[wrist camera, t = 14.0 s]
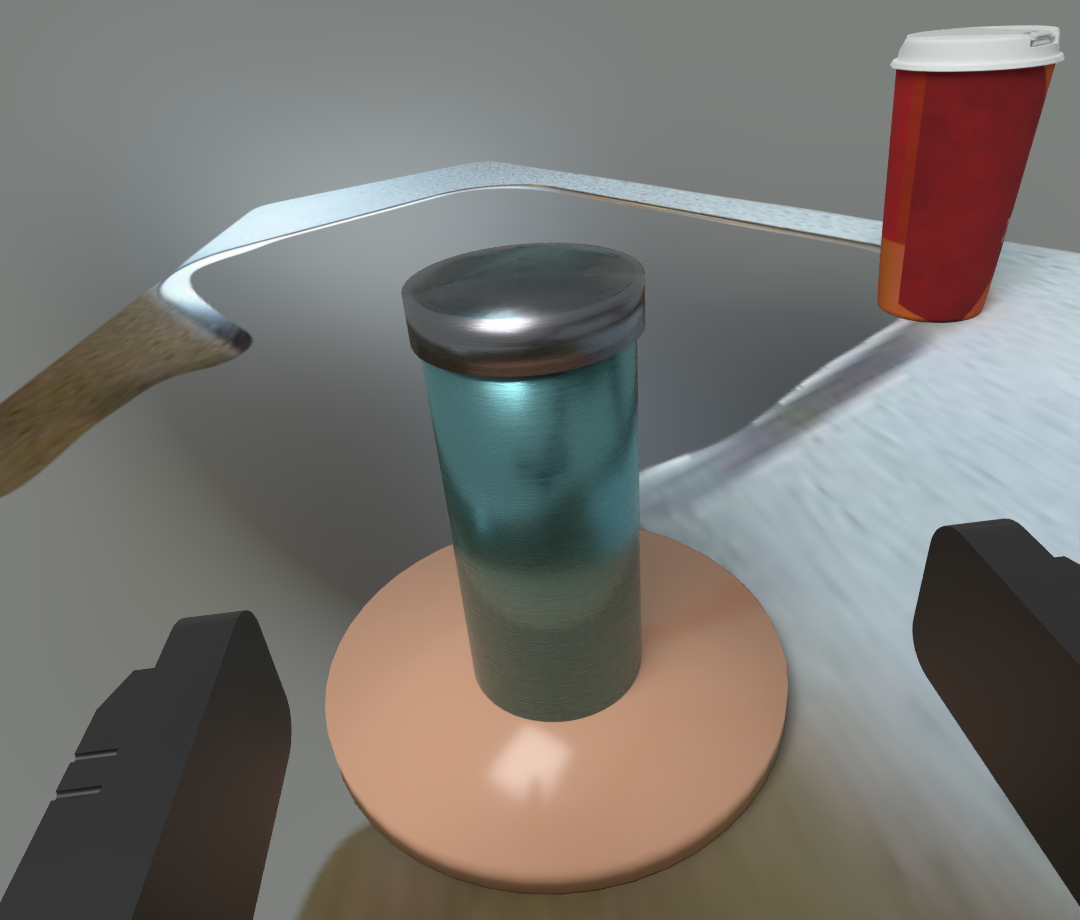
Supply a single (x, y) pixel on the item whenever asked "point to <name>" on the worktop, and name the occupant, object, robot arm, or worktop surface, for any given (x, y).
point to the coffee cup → (958, 162)
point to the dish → (559, 734)
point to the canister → (539, 464)
